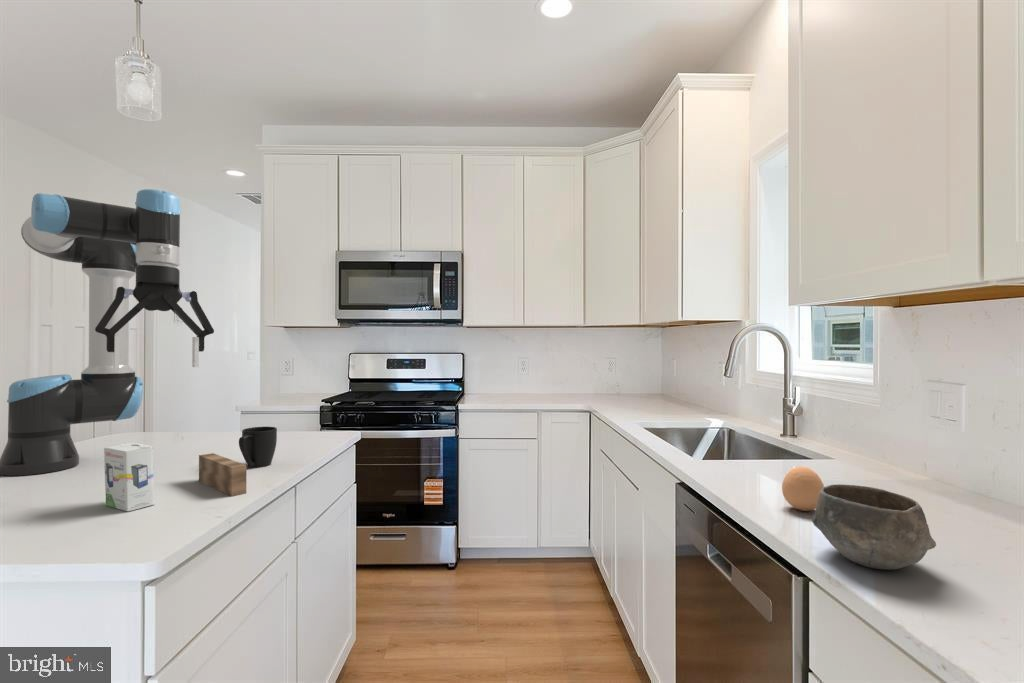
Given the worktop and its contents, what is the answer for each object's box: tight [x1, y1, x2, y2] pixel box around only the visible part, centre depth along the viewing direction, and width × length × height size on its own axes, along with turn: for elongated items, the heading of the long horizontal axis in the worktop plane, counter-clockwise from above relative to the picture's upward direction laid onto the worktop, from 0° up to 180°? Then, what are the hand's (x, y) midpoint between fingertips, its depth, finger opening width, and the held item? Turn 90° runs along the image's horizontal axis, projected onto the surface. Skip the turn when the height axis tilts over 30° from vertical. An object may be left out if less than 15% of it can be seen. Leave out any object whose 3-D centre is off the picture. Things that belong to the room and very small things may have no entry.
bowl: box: [811, 483, 937, 570], centre depth 77 cm, size 14×15×10 cm
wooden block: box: [198, 452, 248, 497], centre depth 114 cm, size 18×3×6 cm, turn 51°
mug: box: [238, 426, 278, 469], centre depth 132 cm, size 8×12×10 cm
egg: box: [781, 465, 825, 512], centre depth 100 cm, size 7×7×8 cm
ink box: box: [103, 442, 156, 512], centre depth 100 cm, size 9×5×12 cm, turn 62°
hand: (157, 368), depth 106 cm, fingers open, 13 cm apart
